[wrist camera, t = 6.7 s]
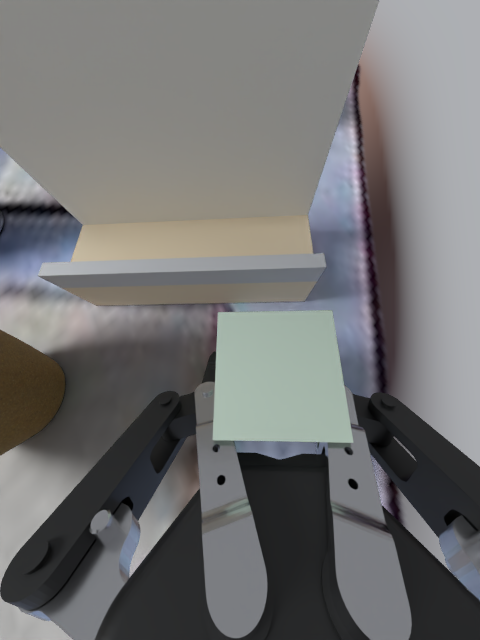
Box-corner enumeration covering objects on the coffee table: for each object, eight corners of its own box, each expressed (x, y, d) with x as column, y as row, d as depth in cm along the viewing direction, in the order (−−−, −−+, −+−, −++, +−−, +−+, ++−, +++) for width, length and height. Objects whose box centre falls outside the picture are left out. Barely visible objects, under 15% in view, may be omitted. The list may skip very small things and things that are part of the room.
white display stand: (304, 301, 19) (491, 8, 4) (96, 305, 21) (-331, 88, 5) (296, 230, 22) (391, -97, 7) (114, 237, 23) (-136, -29, 8)
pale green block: (288, 405, 16) (353, 442, 6) (236, 405, 17) (212, 440, 6) (285, 353, 18) (332, 310, 8) (237, 353, 18) (218, 312, 8)
